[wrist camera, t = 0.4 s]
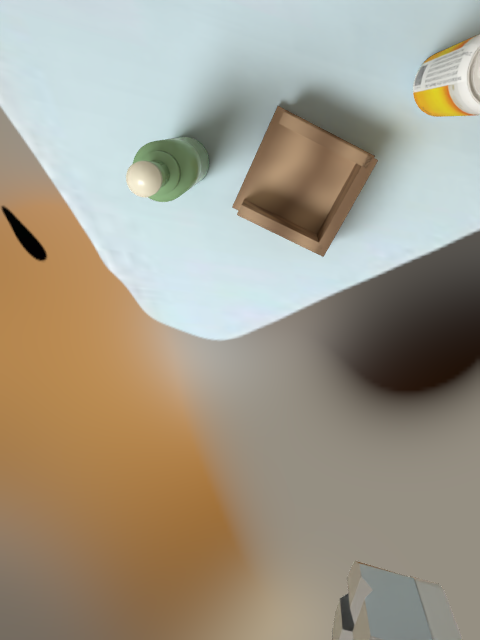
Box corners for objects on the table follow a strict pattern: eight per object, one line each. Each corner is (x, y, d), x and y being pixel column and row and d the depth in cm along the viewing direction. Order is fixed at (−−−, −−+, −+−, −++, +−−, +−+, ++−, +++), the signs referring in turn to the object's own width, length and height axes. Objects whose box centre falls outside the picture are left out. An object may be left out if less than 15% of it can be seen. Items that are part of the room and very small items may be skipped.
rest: (233, 205, 54) (228, 213, 50) (278, 105, 49) (277, 104, 45) (321, 248, 55) (324, 260, 51) (373, 155, 51) (382, 158, 46)
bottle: (184, 126, 51) (138, 128, 35) (218, 161, 52) (189, 180, 36) (154, 161, 53) (97, 179, 37) (187, 195, 54) (147, 226, 38)
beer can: (461, 119, 48) (532, 118, 35) (404, 113, 49) (452, 110, 35) (479, 54, 46) (562, 26, 32) (419, 48, 46) (476, 18, 32)
